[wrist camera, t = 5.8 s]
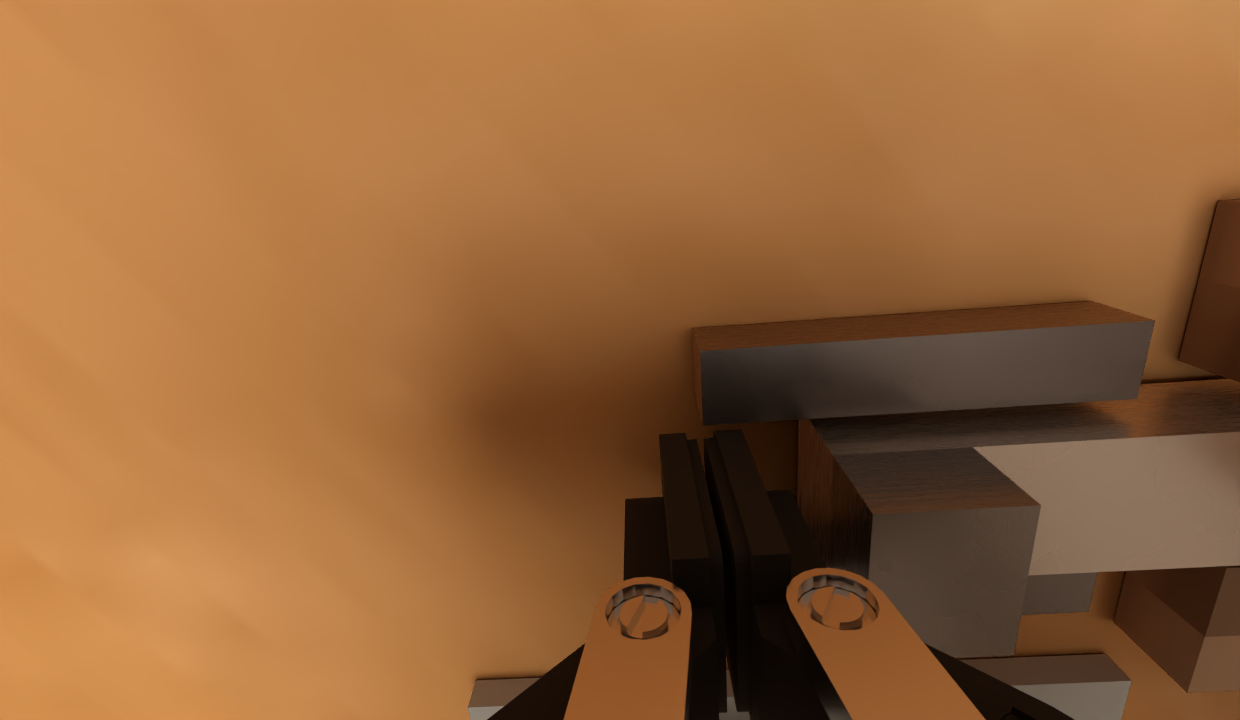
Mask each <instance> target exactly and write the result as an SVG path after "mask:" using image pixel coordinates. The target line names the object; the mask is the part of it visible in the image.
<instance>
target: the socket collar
mask: <svg viewBox="0 0 1240 720" xmlns="http://www.w3.org/2000/svg"><path fill="white" fill-rule="evenodd" d="M1179 361H1182V362H1185V363H1188V364H1190V365H1193V366H1196V367H1199V368H1201V369H1204V370H1207V371H1209V372H1212V373H1215V374H1218V375H1220V376H1223V377H1226V378H1229V379H1231V380H1234V381H1237V382H1239V383H1240V199H1235V200H1222V201H1218V204H1217V208H1216V212H1215V216H1214V220H1213V224H1212V228H1211V232H1210V236H1209V240H1208V244H1207V248H1206V252H1205V256H1204V260H1203V264H1202V268H1201V272H1200V276H1199V280H1198V284H1197V288H1196V292H1195V296H1194V300H1193V304H1192V308H1191V312H1190V317H1189V321H1188V325H1187V329H1186V333H1185V337H1184V341H1183V345H1182V349H1181V353H1180V357H1179ZM1114 623H1115V624H1116V625H1117V626H1118V627H1119V628H1120V629H1121V630H1123V631H1124V632H1125V633H1126V634H1127V635H1128V636H1129V637H1130V638H1131V639H1132V640H1133V641H1134V642H1135V643H1136V644H1137V645H1138V646H1139V647H1140V648H1141V649H1142V650H1143V651H1144V652H1145V653H1146V654H1148V655H1149V656H1150V657H1151V658H1152V659H1153V660H1154V661H1155V662H1156V663H1157V664H1158V665H1159V666H1160V667H1161V668H1162V669H1163V670H1164V671H1165V672H1166V673H1167V674H1168V675H1169V676H1170V677H1171V678H1172V679H1174V680H1175V681H1176V682H1177V683H1178V684H1179V685H1180V686H1181V687H1182V688H1183V689H1184V690H1185V691H1186V692H1187V693H1194V692H1220V691H1240V565H1236V566H1215V567H1194V568H1174V569H1153V570H1132V571H1126V574H1125V578H1124V582H1123V586H1122V590H1121V594H1120V598H1119V602H1118V606H1117V610H1116V614H1115V618H1114Z"/></svg>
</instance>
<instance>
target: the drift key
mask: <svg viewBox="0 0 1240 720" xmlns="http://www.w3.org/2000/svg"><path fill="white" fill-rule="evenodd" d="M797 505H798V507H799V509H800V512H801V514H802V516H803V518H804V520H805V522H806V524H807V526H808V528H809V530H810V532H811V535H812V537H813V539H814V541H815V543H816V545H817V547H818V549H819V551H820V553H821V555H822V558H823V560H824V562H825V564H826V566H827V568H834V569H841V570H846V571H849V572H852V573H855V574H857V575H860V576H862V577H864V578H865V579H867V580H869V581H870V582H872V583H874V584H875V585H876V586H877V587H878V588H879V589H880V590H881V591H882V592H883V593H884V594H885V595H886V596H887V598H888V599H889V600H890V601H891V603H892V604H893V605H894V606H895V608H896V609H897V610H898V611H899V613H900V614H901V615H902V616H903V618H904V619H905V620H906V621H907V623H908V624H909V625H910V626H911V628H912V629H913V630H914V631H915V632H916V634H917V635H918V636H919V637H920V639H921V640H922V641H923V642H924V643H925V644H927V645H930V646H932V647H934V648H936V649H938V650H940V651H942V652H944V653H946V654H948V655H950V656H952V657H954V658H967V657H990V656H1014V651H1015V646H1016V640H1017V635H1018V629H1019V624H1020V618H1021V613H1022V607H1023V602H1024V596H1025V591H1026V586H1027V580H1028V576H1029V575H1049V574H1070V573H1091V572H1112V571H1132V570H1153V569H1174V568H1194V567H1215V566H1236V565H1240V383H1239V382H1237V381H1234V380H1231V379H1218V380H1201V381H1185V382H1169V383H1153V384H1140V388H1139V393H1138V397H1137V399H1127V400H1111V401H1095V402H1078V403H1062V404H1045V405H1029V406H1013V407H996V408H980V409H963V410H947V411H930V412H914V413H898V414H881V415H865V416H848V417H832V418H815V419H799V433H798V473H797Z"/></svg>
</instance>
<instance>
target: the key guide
mask: <svg viewBox="0 0 1240 720" xmlns="http://www.w3.org/2000/svg"><path fill="white" fill-rule="evenodd" d="M1154 323H1155V320H1152V319H1148V318H1145V317H1142V316H1139V315H1135V314H1132V313H1129V312H1126V311H1122V310H1119V309H1116V308H1113V307H1109V306H1106V305H1103V304H1100V303H1096V302H1093V301H1085V302H1070V303H1055V304H1041V305H1026V306H1011V307H997V308H982V309H968V310H953V311H938V312H924V313H909V314H894V315H880V316H865V317H850V318H836V319H821V320H806V321H792V322H777V323H763V324H748V325H733V326H719V327H704V328H692V336H693V362H694V388H695V398H696V402H697V406H698V409H699V413H700V417H701V421H702V424H703V425H717V424H733V423H750V422H766V421H783V420H799V419H815V418H832V417H848V416H865V415H881V414H898V413H914V412H930V411H947V410H963V409H980V408H996V407H1013V406H1029V405H1045V404H1062V403H1078V402H1095V401H1111V400H1127V399H1137V397H1138V393H1139V388H1140V384H1141V380H1142V375H1143V371H1144V366H1145V362H1146V358H1147V353H1148V349H1149V345H1150V340H1151V336H1152V332H1153V327H1154ZM1096 576H1097V572H1091V573H1070V574H1049V575H1029V576H1028V580H1027V586H1026V591H1025V596H1024V602H1023V607H1022V613H1021V615H1030V614H1052V613H1074V612H1088V611H1089V606H1090V602H1091V598H1092V593H1093V589H1094V585H1095V580H1096Z"/></svg>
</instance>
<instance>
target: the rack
mask: <svg viewBox="0 0 1240 720" xmlns="http://www.w3.org/2000/svg"><path fill="white" fill-rule="evenodd" d="M960 661H962V662H964V663H966V664H968V665H970V666H972V667H974V668H976V669H978V670H980V671H982V672H984V673H986V674H988V675H990V676H992V677H994V678H996V679H998V680H1000V681H1002V682H1004V683H1006V684H1008V685H1010V686H1012V687H1014V688H1016V689H1018V690H1020V691H1022V692H1024V693H1026V694H1028V695H1030V696H1032V697H1034V698H1036V699H1038V700H1040V701H1043V702H1045V703H1047V704H1049V705H1051V706H1053V707H1054V708H1056V709H1058V710H1059V711H1061V712H1063V713H1064V714H1066V715H1068V716H1069V717H1071V718H1073V719H1074V720H1121V718H1122V714H1123V711H1124V707H1125V703H1126V700H1127V696H1128V692H1129V689H1130V685H1131V680H1130V679H1129V678H1128V677H1127V675H1126V674H1125V673H1124V672H1123V671H1122V670H1121V669H1120V668H1119V667H1118V666H1117V665H1116V664H1115V663H1114V662H1113V661H1112V660H1111V659H1110V658H1109V657H1108V656H1107V655H1106V654H1088V655H1065V656H1041V657H1017V658H994V659H970V660H960ZM726 675H727V713H719V720H750V715H749V712H737V710H736V705H735V700H734V695H733V690H732V684H731V679H730V674H729V670H726ZM538 679H540V678H521V679H497V680H476V682H475V686H474V689H473V692H472V696H471V699H470V702H469V706H468V710H469V715H470V719H471V720H487V719H488V718H490V717H491V716H492V715H493V714H495V713H496V712H497V711H499V710H500V709H501V708H502V707H504V706H505V705H506V704H508V703H509V702H510V701H511V700H513V699H514V698H515V697H517V696H518V695H519V694H520V693H522V692H523V691H524V690H526V689H527V688H528V687H529V686H531V685H532V684H533V683H535V682H536V681H537V680H538Z"/></svg>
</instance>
